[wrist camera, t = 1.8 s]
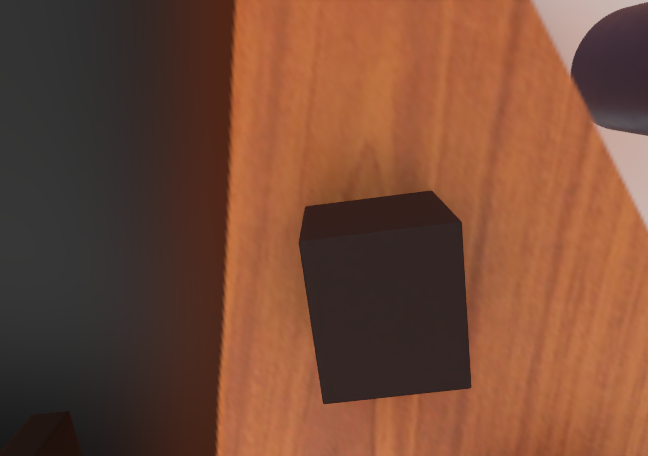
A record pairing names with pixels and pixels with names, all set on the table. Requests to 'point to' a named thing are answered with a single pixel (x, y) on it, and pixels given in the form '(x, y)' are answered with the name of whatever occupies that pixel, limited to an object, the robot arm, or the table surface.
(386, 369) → the black cube
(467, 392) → the table surface
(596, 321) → the table surface
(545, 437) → the table surface
